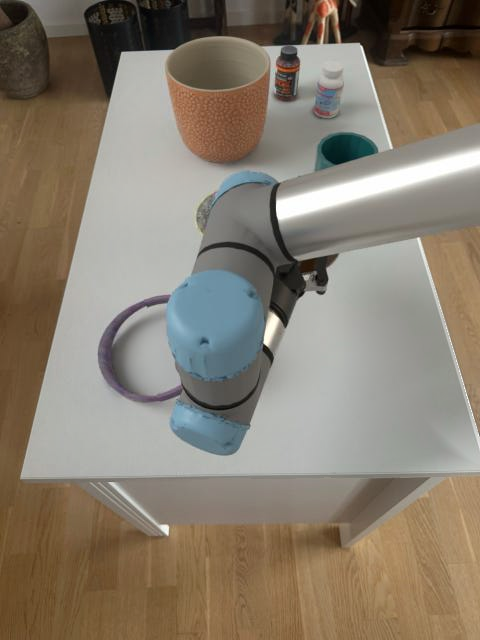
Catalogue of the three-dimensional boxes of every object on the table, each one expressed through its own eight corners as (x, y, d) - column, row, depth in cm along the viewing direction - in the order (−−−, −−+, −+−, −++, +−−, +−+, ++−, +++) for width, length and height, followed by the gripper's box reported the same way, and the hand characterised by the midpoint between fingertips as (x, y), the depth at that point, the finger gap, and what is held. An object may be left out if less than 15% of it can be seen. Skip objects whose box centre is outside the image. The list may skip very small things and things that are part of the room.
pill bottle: (308, 112, 109) (314, 65, 100) (324, 102, 112) (331, 55, 102) (327, 122, 107) (335, 75, 97) (343, 111, 109) (352, 65, 100)
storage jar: (375, 205, 91) (389, 162, 82) (323, 218, 89) (331, 175, 81) (352, 170, 97) (362, 127, 88) (302, 181, 95) (308, 138, 87)
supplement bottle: (271, 100, 112) (273, 53, 103) (276, 88, 115) (278, 41, 106) (295, 103, 111) (299, 56, 102) (298, 90, 115) (303, 44, 105)
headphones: (216, 295, 78) (108, 327, 79) (205, 267, 71) (87, 303, 72) (239, 388, 69) (116, 424, 69) (229, 366, 62) (93, 406, 62)
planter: (283, 158, 100) (289, 73, 84) (198, 186, 95) (188, 102, 79) (243, 111, 110) (242, 27, 94) (165, 134, 105) (150, 50, 89)
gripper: (195, 316, 55) (258, 194, 67) (317, 354, 52) (361, 219, 63) (188, 278, 49) (259, 151, 60) (327, 320, 45) (373, 177, 57)
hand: (311, 186), depth 62 cm, fingers closed on jar lid, 3 cm apart
